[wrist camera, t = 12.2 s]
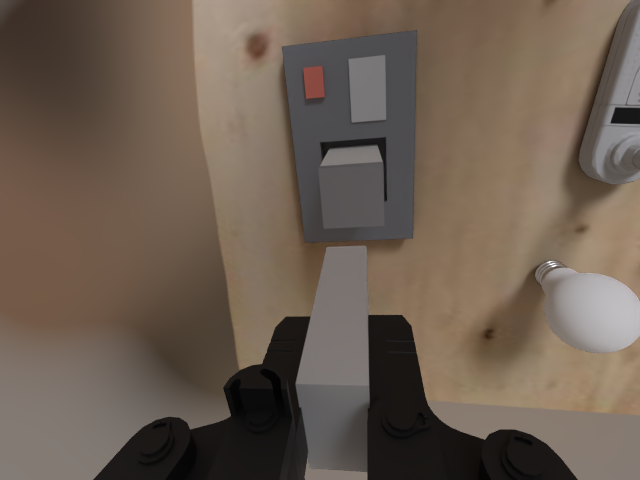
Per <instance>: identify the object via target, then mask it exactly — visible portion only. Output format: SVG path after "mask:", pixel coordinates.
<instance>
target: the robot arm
mask: <svg viewBox="0 0 640 480" xmlns="http://www.w3.org/2000/svg"><path fill="white" fill-rule="evenodd" d="M223 388H224V392H225V395H226V399H227V402H228V406H229V410H230V413H231V417H229V418H227V419H226V420H223V421H220V422H217V423H214V424H210V425H206V426H203V427H199V428H195V429H191V430H190V429H189V426H188V424H187V422H185V421H184V420H182V419H180V418H176V417H175V418H174V417H166V418H162V419H159V420H155V421H154V422H152V423H150V424H148V425H146V426H144V427H143V428H142V429H141V430H139V431H138V432H137V433H136V434H135V435H134V436H133V437H132V438H131V439H130V440H129V441H128V442H127V443H126V444H125V445H124V447H123V448H122V449H121V450H120V451H119V452H118V453H117V454H116V455H115V456H114V458H113V459H112V460H111V461H110V462H109V463H108V464H107V465H106V466H105V467H104V469H103V470H102V471H101V472H100V473H99V474H98V475H97V476H96V477H95V479H94V480H305V478H304V476H305V469H306V463H307V457H308V463H309V468H312V469H328V470H344V471H360V472H361V471H362V472H368V480H577V478H576V477H575V476H574V474H573V473H572V472H571V471H570V469H569V468H568V467H567V465H566V464H565V463H564V462H563V460H562V459H561V458H560V457H559V456H558V455H557V454H556V453H555V452H554V451H553V450H552V449H551V448H550V447H549V446H548V445H547V444H546V443H544V442H542V441H541V440H539V439H537V438H536V437H534V436H532V435H530V434H527V433H524V432H521V431H517V430H498V431H496V432H494V433H491V434H489V435H488V437H487V438H486V439H485V440H484V439H480V438H478V437H475V436H471V435H469V434H466V433H463V432H460V431H458V430H456V429H453V428H451V427H449V426H448V425H446V424H445V423H443V422H442V421H441V420H439V418H438V417H437V416H436V415H434V413H433V412H432V410H431V409H430V407H429V406H428V404H427V400H426V397H425V392H424V387H423V382H422V377H421V372H420V367H419V362H418V357H417V354H416V347H415V342H414V337H413V332H412V327H411V325H410V324H409V323H408V322H407V320H406V319H405V318H404V317H403V316H402V315H369V297H368V273H367V249H366V246H340V247H327V248H326V252H325V257H324V261H323V266H322V270H321V274H320V279H319V283H318V287H317V292H316V296H315V301H314V305H313V309H312V314H311V317H285V318H284V319H283V320H282V321H281V322H280V323H279V324H278V325H277V326H276V327H275V330H274V333H273V336H272V338H271V343H270V344H269V347H268V349H267V353H266V355H265V358H264V360H263V363H262V364H259V365H252V366H249V367H247V368H244V369H242V370H240V371H239V372H238V373H236V374H235V375H233V376H232V377H231V378H230V379H229V380H228V382H227V383H226V385H225V386H224V387H223Z"/></svg>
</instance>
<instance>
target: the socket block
mask: <svg viewBox="0 0 640 480" xmlns="http://www.w3.org/2000/svg"><path fill="white" fill-rule="evenodd" d="M416 46H417V30H415V31H407V32H398V33H390V34H382V35H374V36H365V37H357V38H349V39H341V40H332V41H324V42H316V43H308V44H299V45H291V46H283V47H282V52H283V61H284V69H285V78H286V86H287V95H288V103H289V111H290V120H291V128H292V137H293V145H294V154H295V162H296V171H297V179H298V187H299V196H300V204H301V213H302V221H303V230H304V238H305V243H308V242H334V241H359V240H385V239H410V238H413V216H414V160H415V103H416ZM369 144H377V145H378V148H379V152H380V155H381V158H382V162H383V170H384V225H385V226H373V227H350V228H328V229H324V226H323V215H322V204H321V194H320V183H319V172H318V168H319V167H320V165H321V163H322V161H323V159H324V158H325V156H326V154H327V152H328V150H329V149H330V148H331V147H343V146H356V145H369Z"/></svg>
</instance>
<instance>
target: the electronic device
mask: <svg viewBox="0 0 640 480" xmlns="http://www.w3.org/2000/svg"><path fill="white" fill-rule="evenodd" d="M579 163H580V166H581V169H582V170H583V172H584V173H585V174H586V175H587V176H589V177H591V178H594V179H596V180H599V181H602V182H605V183H608V184H625V183H629V182H633V181H635V180H637V179H639V178H640V0H632V1H631V2H630V3H629V4H628V5H627V7H626V8H625V10H624V11H623V13H622V15H621V17H620V18H619V22H618V25H617V28H616V31H615V35H614V38H613V41H612V45H611V48H610V51H609V55H608V58H607V61H606V65H605V68H604V71H603V75H602V78H601V81H600V85H599V88H598V91H597V95H596V98H595V101H594V105H593V108H592V111H591V115H590V118H589V121H588V125H587V128H586V131H585V135H584V138H583V142H582V145H581V148H580V153H579Z"/></svg>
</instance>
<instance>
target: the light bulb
mask: <svg viewBox="0 0 640 480" xmlns="http://www.w3.org/2000/svg"><path fill="white" fill-rule="evenodd" d="M535 278H536V281H537V282H538V283H539V284H540V285H541V286H542V289H543V292H544V293H545V295H546V297H545V302H544V314H545V318H546V321H547V323H548V325H549V327H550V328H551V330H552V331H553V332H554V333H555V334H556V335H557V336H558V337H559V338H560V339H561V340H562V341H564V342H565V343H567V344H568V345H570V346H572V347H574V348H577V349H580V350H583V351H586V352H591V353H611V352H615V351H619V350H621V349H623V348H625V347H627V346H629V345H630V344H632V343H633V342H634V341H635V340H636V339H637V338H638V337H639V335H640V301H639V299H638V298H637V296H636V295H635V294H634V293H633V292H632V291H631V290H630V289H629V288H628V287H627V286H626V285H624V284H623V283H621V282H619V281H617V280H616V279H614V278H611V277H608V276H605V275H601V274H595V273H577V272H576V271H574V270H572V269H569V268H567V266H565V265H564V264H562V262H560V261H557V260H550V261H546V262H544V263H542V264H541V265H539V267H538V268H537V269H536V272H535Z"/></svg>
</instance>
